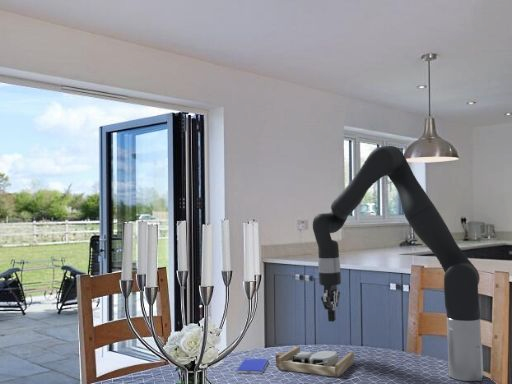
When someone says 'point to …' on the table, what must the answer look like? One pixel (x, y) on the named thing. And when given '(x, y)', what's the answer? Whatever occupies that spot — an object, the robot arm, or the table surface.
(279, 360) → the wooden tray
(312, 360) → the robot toy
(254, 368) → the hard drive
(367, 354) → the table surface
